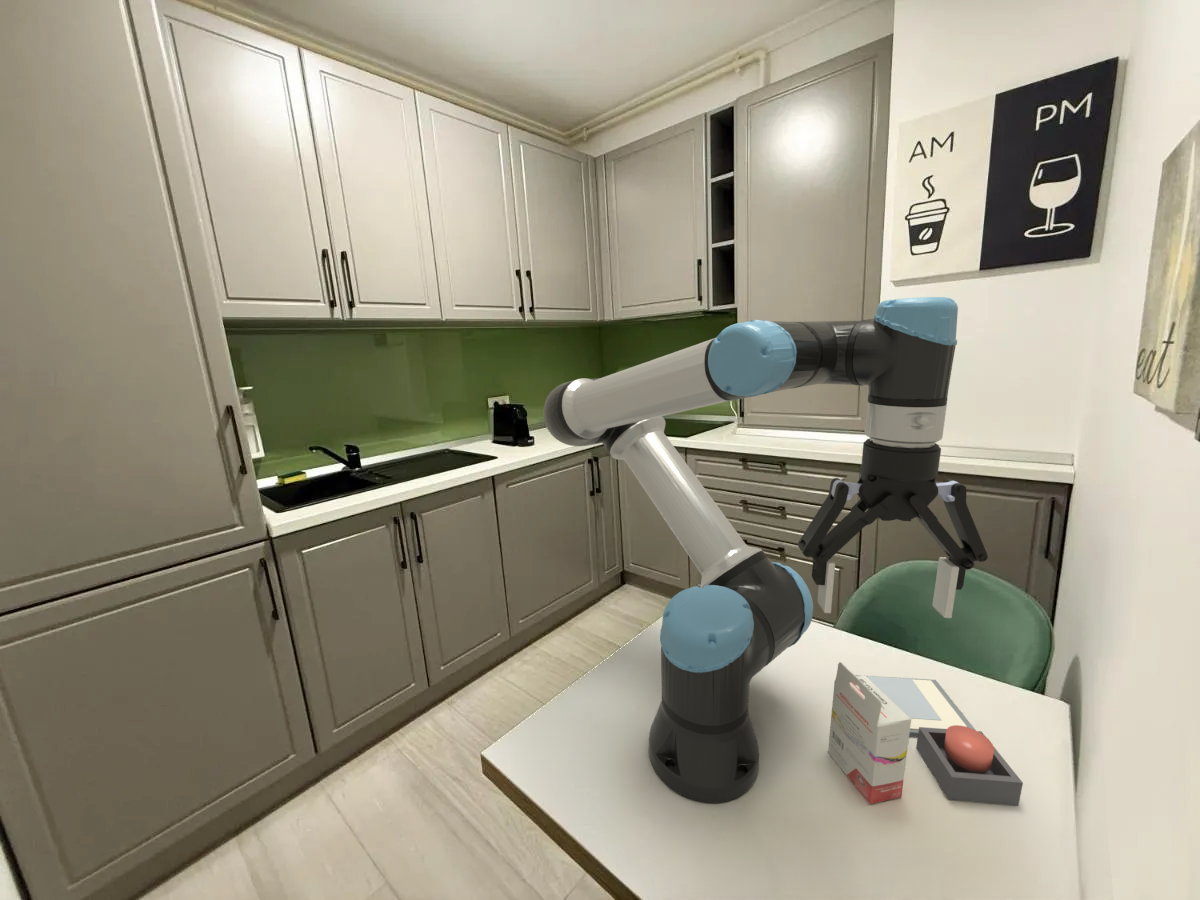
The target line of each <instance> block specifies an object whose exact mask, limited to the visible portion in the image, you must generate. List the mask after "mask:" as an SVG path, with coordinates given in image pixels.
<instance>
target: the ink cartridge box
mask: <svg viewBox="0 0 1200 900" xmlns="http://www.w3.org/2000/svg"><path fill="white" fill-rule="evenodd" d="M866 676H867V675H864V674H863V675H861V676H855V674H854V673H853V672H852V671H851V670H850V669H849V668H847V666H846V665H845V664H843V662H841V661H839V662H838V664H837V670H836V676H835V680H834V686H833V696H832V707H831V716H830V727H829V737H828V748H827V750H828V751H827V752H828V754H829V755H830V756H831V757H832V758H833V760H834V762H835V763H836V764H837V765H838V766H839V767H840V768H841V770H842V772H843V773H844V774H845V775H846V776H847V777H848V779H849V780H850V782H851V783H852V784H853V785H854V786H855V787H856V789H857V790H858V792H860V794H861V795H862V797H863V798H864V799H865V800H866V802H867V803H868V804H869V805H873V804H876V803H877V804H878V803H881V802H885V801H892V800H895V799H899V798H902V796H903V795H902V794H903V786H904V780H905V779H904V778H905V771H906V765H907V763H906V762H907V755H908V749H909V748H908V747H909V742H910V741H909V738H910V737H909V733H910V725H911V718H910V717H909V716H908V715H907V714H905V713H904V712H903V711H902V710H901V709H900V708H899V707H898V706H897V705H896V704H895V703H894V702H893V701H892V700H891V699H889V698H888V697H887V696H886V695H885V694H884V693H883V692H882V691H881V690H880V689H879V688H878V687H877V686H876V685H875V684H874V683H873V682H872V681H871V680H869V679H868V678H867V677H866Z"/></svg>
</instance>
